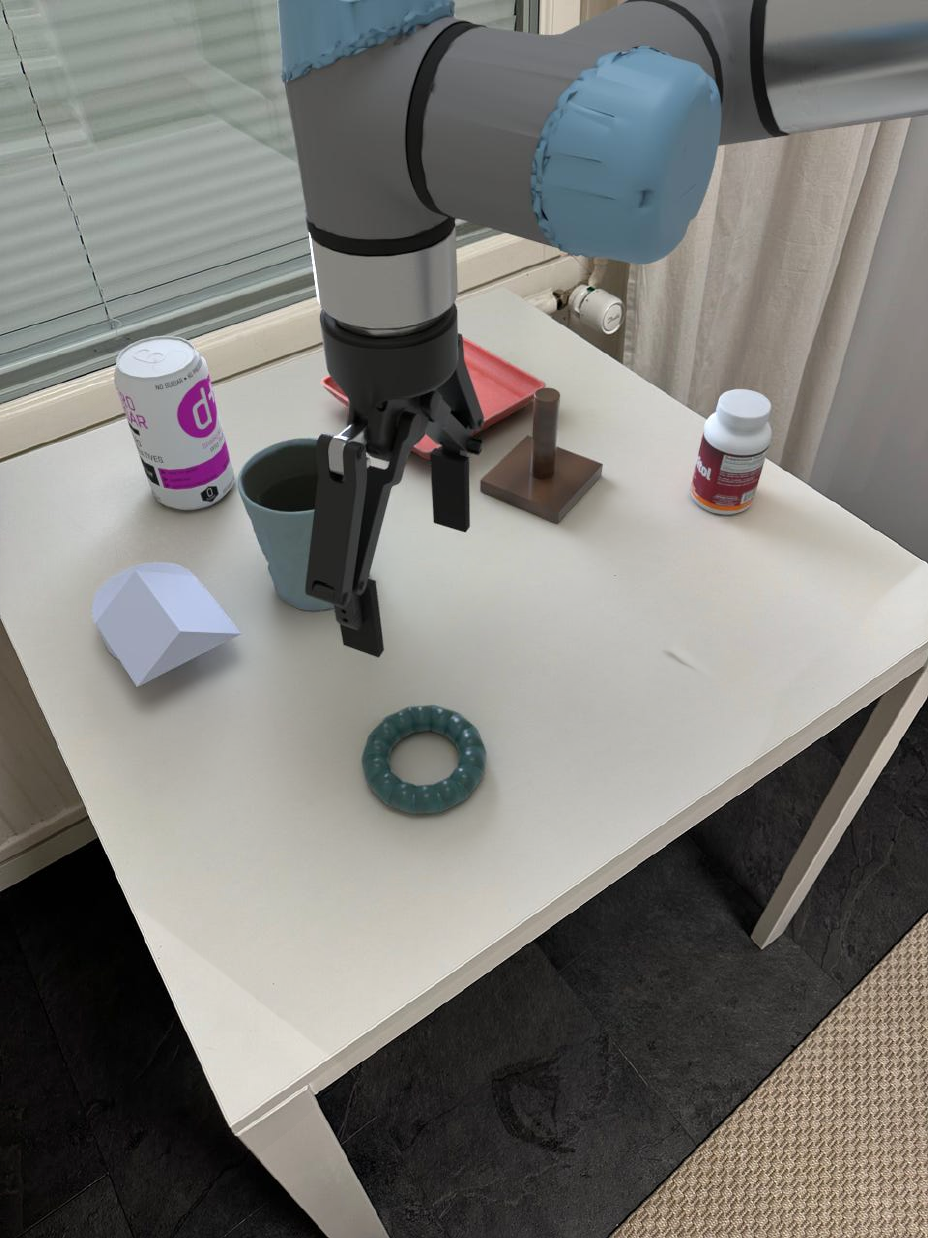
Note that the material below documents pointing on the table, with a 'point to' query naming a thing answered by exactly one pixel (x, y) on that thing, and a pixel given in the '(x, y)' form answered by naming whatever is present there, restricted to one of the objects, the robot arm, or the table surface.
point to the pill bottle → (732, 452)
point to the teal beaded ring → (423, 795)
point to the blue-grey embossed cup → (284, 513)
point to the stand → (542, 467)
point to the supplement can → (174, 421)
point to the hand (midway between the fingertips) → (410, 582)
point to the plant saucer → (478, 389)
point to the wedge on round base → (158, 619)
